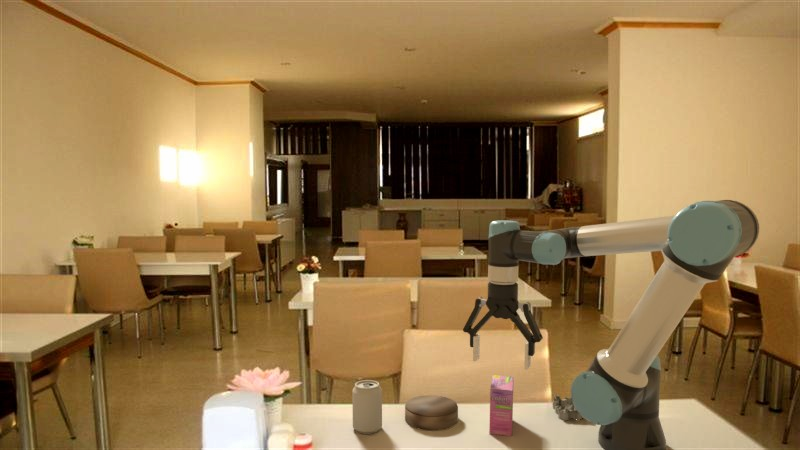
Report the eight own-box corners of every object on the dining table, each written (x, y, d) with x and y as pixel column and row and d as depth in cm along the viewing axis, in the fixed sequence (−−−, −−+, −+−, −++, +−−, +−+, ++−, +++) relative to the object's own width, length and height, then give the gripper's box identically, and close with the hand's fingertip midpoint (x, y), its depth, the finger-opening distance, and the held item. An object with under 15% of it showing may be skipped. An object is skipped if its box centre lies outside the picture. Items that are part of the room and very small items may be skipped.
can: (385, 424, 157) (385, 379, 156) (376, 436, 150) (376, 389, 149) (358, 421, 159) (358, 377, 158) (348, 433, 152) (348, 386, 151)
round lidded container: (465, 414, 163) (465, 400, 163) (445, 434, 151) (445, 419, 151) (419, 405, 170) (419, 392, 170) (395, 424, 158) (395, 409, 157)
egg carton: (551, 406, 170) (551, 392, 170) (578, 407, 170) (578, 392, 169) (557, 421, 160) (557, 406, 159) (586, 422, 159) (586, 407, 159)
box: (512, 436, 150) (513, 390, 149) (489, 434, 151) (489, 388, 150) (513, 419, 160) (513, 376, 159) (491, 418, 161) (491, 374, 160)
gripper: (556, 283, 150) (553, 367, 152) (462, 275, 162) (461, 352, 164) (548, 288, 144) (546, 375, 145) (451, 279, 155) (450, 360, 157)
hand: (501, 363), depth 155 cm, fingers open, 13 cm apart
